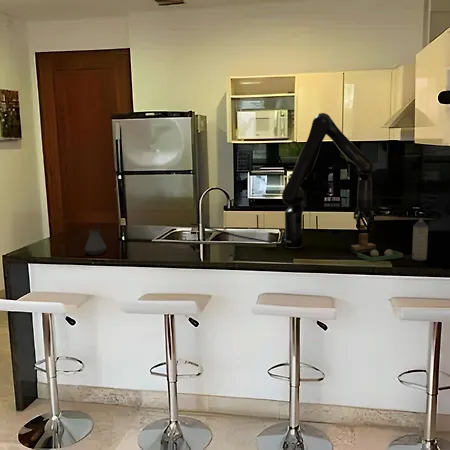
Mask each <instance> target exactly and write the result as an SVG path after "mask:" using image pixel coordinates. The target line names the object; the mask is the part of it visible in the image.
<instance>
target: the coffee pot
mask: <svg viewBox="0 0 450 450" xmlns="http://www.w3.org/2000/svg"><path fill="white" fill-rule="evenodd" d="M100 225H101V221H98V222H97V225H96V228H94V229H93V228H92V229H89V230H88V233H89V235H88V237H87V241H86V244H85V246H84V251H85V252H86V254H88V255H90V256H98V255H99V256H100V255H102V254H104V253H105V251H106V250H107V245H106V244H105V242H104V240H103V238H102V236H101V231H102V230H101V229H100Z"/></svg>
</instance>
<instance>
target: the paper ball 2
mask: <svg viewBox="0 0 450 450" xmlns="http://www.w3.org/2000/svg"><path fill="white" fill-rule="evenodd" d="M391 250H392V249H390V250H387V249H386V250H385V251H384V256H386V255H393V252H392V251H391Z"/></svg>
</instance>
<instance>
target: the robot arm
mask: <svg viewBox="0 0 450 450" xmlns="http://www.w3.org/2000/svg"><path fill="white" fill-rule="evenodd" d="M326 136H328V138H330V139H331V141H332V142H333V143H334V145H335V146H336V147H337V148H338V150H339V151H340V152H341V153H342V154H343V156H345V158H346V159H347V160H349V162H351V163H352V164H353V165H354V166H356V168H357V178H358V181H357V192H356V193H357V194H356V207H354V209H353V220H355V221H356V222H355V223H356V227H355V228H357V229H360V228H361V227H362V226H361V225H362V218H363V219H364V220H365V222H366V231H367V232H368V231H369V232H370V231H372V224H373V223H375V211H374V210H371V208H372V207H373V179H372V172H373V171H374V168H375V165H374V163H373V161H372V160H371V159H370V158H368V157H367V156H366V155H365V154H364V153H362V151H361V150H360V149H359V148H358V147H357V146H356V145H355V144H354V143H353V142H352V141H351V140H350V139H349V138H348V137H347V136H346V135H345V134H344V133H343V132H342V131H341V130H340V128H339V127H338V126H337V124H336V123H335V122H334V121H333V119H332V117H331V116H330V115H329V114H327V113H326V112H320V113H318V114H316V115H315V116H314V117H313V120H312V123H311V127H310V130H309V134H308V137H307V139H306V142H305V143H304V145H303V146H302V148H301V151H300V153H299V155H298V156H297V160H296V162H295V165H294V168H293V170H292V172H291V175H290V177H289V180H288V181H287V183H286V185H285V186H284V189H283V191H282V194H281V199H282V202H283V203H284V204H285V205H287V206H288V205H289V206H288V208H287V209H286V210H285V212H284V234H283V235H281V237H280V238H279V239H278V240H277V241H276V242H273V241H271V240H266V239H260V238H254V237H249V236H244V235H240V234H235V233H231V232H227V231H224V230H221V229H217V228H214V227H209V226H205V225H204V226H205V227H204V228H205V229H210V230H213V231H217V232H220V233H223V234H227V235H231V236H234V237H239V238H244V239H248V240H253V241H259V242H260V241H261V242H265V243H269V244H273V245H274V244H275V245H277V244H279V243H280V242H281V240H282V241H284V248H286V249H289V250H290V249H291V250H292V249H293V250H297V249H302V248H303V213H304V209H305V193H304V190H303V188H302V187H301V185H302V183H304V181H305V180H306V178H307V177H308V176H309V175H310V173H311V172H313V169H314V167H315V165H316V162H317V159H318V157H319V153H320V150H321V145H322V143H323V141H324V139H325V137H326ZM190 225H192V226H197V227H200V226H199V225H200V224H196V223H190Z"/></svg>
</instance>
